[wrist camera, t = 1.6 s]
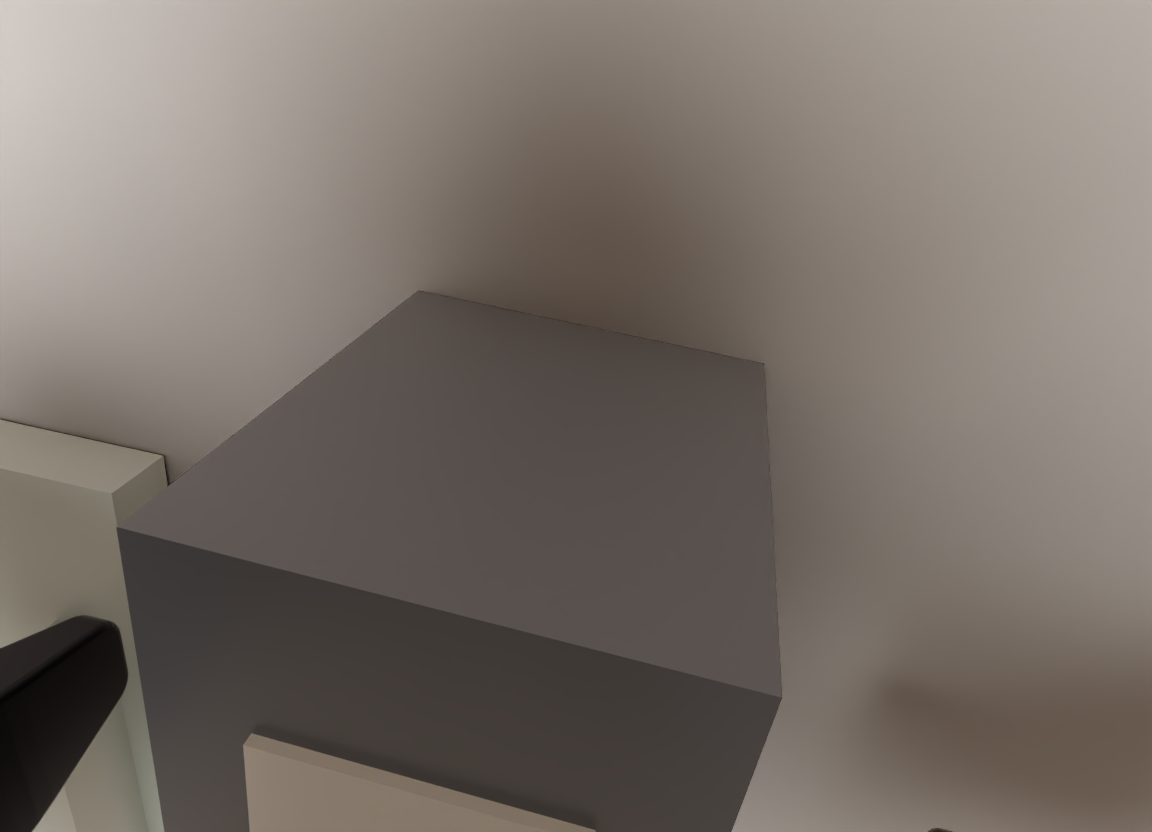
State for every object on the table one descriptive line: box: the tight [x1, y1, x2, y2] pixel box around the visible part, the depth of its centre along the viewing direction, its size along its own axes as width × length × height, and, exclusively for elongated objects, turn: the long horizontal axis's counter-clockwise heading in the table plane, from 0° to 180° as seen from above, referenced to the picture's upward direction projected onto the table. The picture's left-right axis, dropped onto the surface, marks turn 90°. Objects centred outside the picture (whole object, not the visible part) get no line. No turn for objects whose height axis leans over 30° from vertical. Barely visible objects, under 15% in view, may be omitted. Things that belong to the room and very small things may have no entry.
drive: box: [116, 291, 782, 832], centre depth 8 cm, size 4×8×5 cm, turn 171°
